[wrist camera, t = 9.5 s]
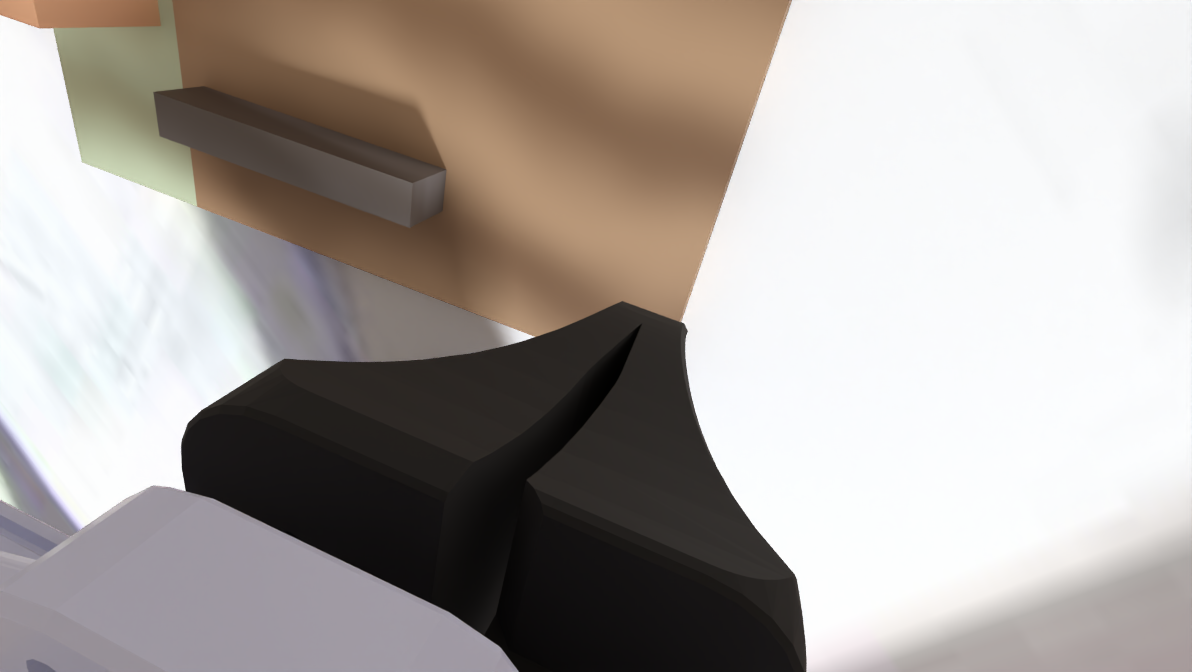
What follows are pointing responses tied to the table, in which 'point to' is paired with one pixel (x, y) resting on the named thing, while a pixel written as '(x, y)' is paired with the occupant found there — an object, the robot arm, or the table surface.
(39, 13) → the terracotta block
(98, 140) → the board
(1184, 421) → the table surface
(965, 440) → the table surface
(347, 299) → the table surface
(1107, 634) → the table surface
